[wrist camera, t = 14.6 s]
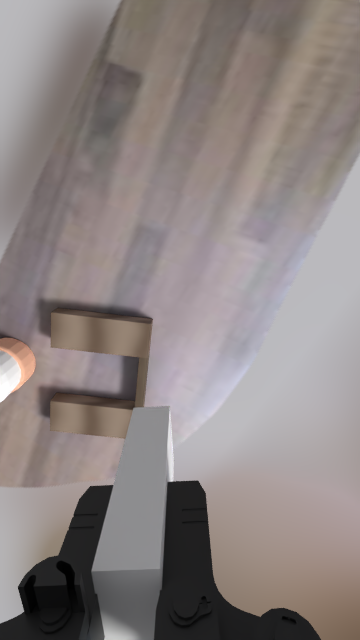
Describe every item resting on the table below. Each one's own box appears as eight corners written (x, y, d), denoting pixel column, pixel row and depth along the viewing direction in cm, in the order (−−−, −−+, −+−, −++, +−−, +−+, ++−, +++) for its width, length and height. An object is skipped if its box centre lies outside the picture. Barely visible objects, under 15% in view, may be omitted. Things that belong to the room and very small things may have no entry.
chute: (152, 318, 46) (151, 324, 44) (141, 429, 51) (139, 440, 49) (57, 307, 45) (51, 312, 43) (56, 420, 51) (50, 430, 48)
